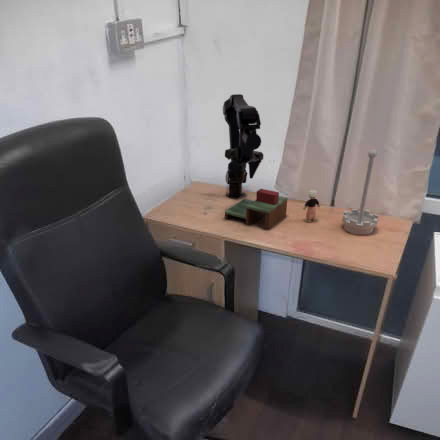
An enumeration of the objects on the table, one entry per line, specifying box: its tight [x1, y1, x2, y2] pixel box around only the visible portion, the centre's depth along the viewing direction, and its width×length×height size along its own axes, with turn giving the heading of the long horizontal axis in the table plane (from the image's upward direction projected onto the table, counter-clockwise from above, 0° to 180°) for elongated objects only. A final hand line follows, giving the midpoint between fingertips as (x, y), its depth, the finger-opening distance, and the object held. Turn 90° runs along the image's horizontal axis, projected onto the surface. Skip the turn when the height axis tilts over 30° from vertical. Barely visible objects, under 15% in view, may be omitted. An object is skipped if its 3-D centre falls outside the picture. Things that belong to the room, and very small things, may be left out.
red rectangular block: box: [255, 188, 280, 205], centre depth 164 cm, size 4×8×4 cm, turn 57°
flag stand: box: [341, 149, 379, 236], centre depth 154 cm, size 13×13×30 cm
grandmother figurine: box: [302, 189, 321, 223], centre depth 165 cm, size 8×4×13 cm, turn 126°
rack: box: [224, 195, 288, 231], centre depth 170 cm, size 16×20×8 cm
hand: (245, 181), depth 170 cm, fingers open, 9 cm apart
